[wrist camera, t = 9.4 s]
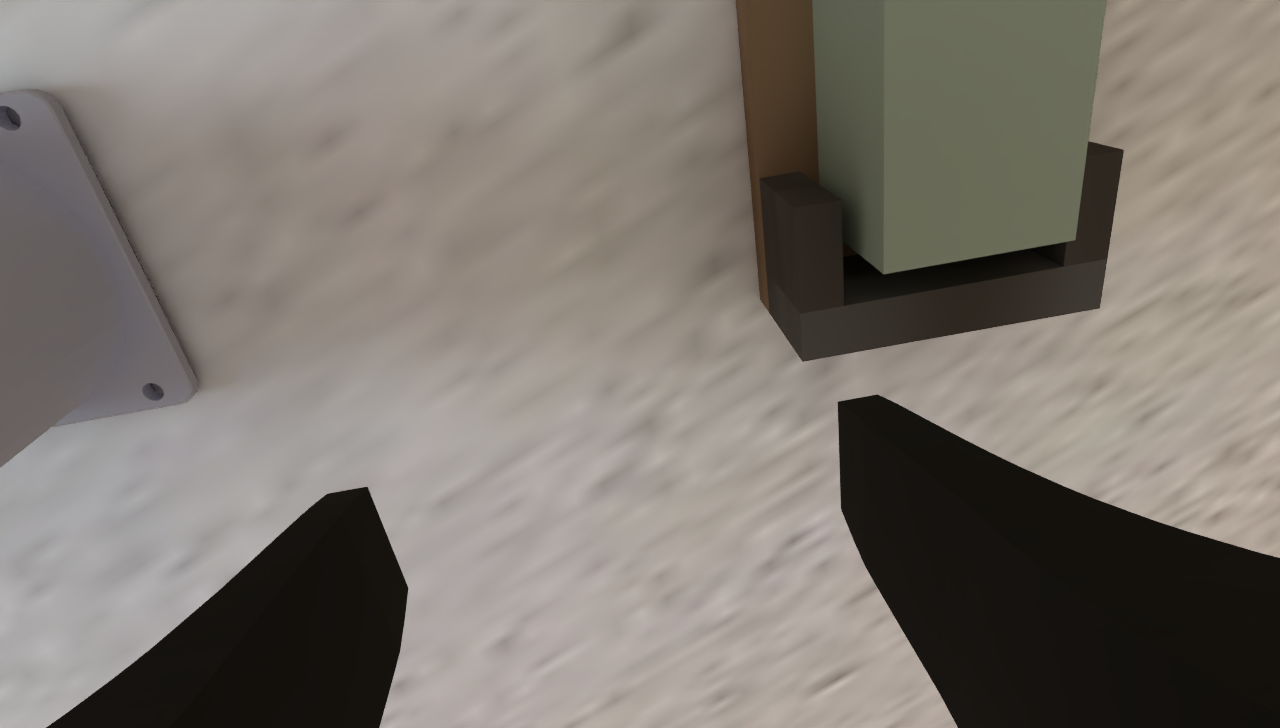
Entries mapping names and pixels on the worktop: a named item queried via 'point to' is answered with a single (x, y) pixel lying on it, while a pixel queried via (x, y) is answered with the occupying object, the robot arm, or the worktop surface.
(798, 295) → the end cap cradle
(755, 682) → the worktop surface
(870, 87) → the stone
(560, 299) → the worktop surface
